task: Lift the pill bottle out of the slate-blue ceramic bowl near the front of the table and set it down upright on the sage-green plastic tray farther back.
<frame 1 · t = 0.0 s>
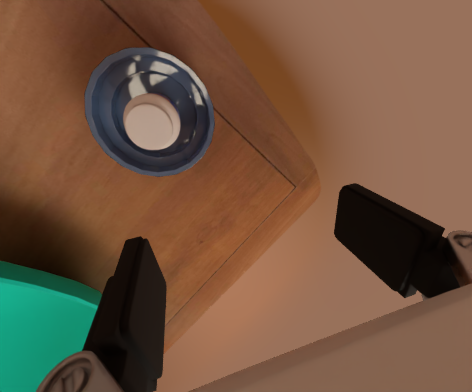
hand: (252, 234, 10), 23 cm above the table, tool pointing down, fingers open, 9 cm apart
table top decor: (36, 295, 34), on the table
pill bottle: (158, 115, 27), resting on bowl
bowl: (158, 115, 27), on the table
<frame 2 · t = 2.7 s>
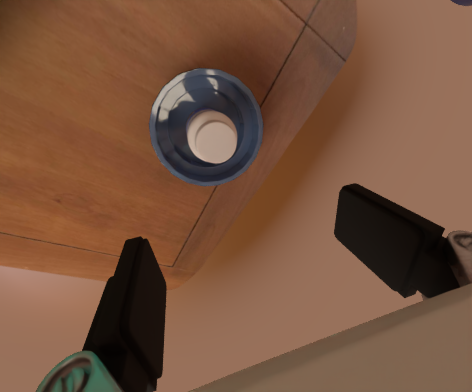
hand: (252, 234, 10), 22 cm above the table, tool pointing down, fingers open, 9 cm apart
pill bottle: (205, 128, 28), resting on bowl
bowl: (205, 127, 28), on the table
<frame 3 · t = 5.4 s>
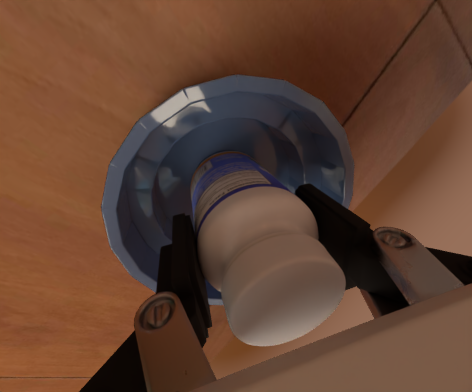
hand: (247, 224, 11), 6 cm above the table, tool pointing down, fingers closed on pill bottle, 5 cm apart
pill bottle: (226, 184, 15), resting on bowl, touching gripper
bowl: (225, 183, 15), on the table
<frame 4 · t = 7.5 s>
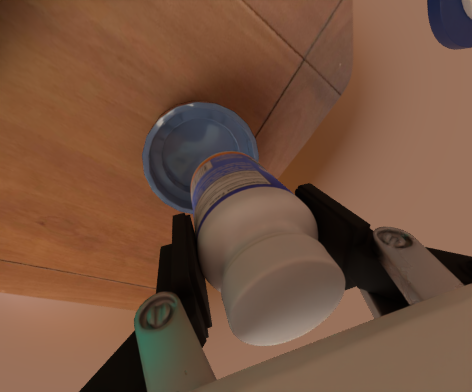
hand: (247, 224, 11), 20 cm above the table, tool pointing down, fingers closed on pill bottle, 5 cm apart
pill bottle: (226, 184, 15), point 15 cm above the table, touching gripper
bowl: (199, 154, 28), on the table
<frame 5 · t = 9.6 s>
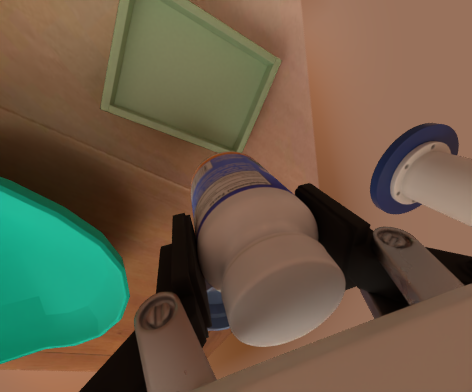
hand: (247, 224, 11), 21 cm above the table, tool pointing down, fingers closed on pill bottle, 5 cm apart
tray: (193, 84, 26), on the table
pill bottle: (226, 185, 15), point 16 cm above the table, touching gripper
bowl: (220, 286, 43), on the table
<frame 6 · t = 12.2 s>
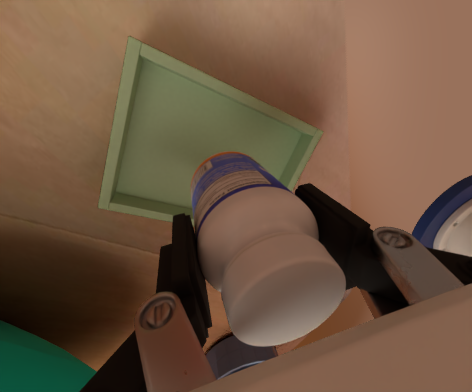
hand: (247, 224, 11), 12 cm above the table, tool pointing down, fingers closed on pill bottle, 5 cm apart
tray: (212, 158, 21), on the table
pill bottle: (226, 184, 15), point 7 cm above the table, touching gripper
bowl: (238, 351, 38), on the table
when the fingers open (6 cm above the table, at t = 14.1 s): pill bottle stays where it is, resting on tray.
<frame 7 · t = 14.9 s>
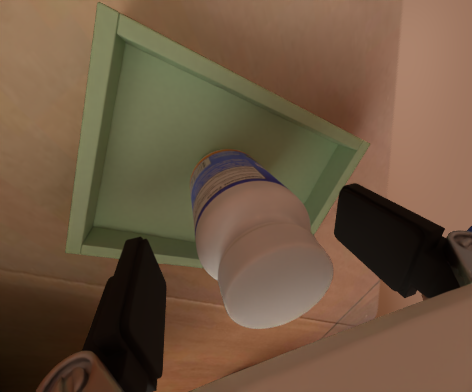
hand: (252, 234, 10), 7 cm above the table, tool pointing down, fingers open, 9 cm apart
tray: (222, 178, 16), on the table
pill bottle: (224, 181, 16), point 1 cm above the table, touching tray
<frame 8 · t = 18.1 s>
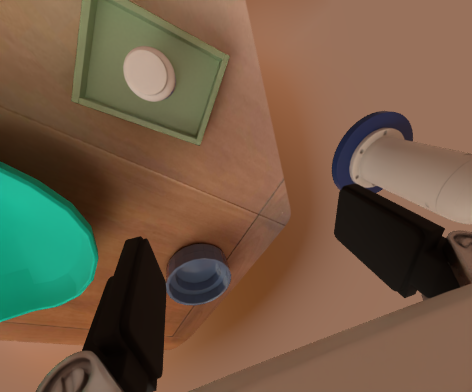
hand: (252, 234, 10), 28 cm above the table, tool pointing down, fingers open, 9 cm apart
tray: (155, 78, 30), on the table
pill bottle: (155, 78, 29), point 1 cm above the table, touching tray
bowl: (197, 265, 47), on the table
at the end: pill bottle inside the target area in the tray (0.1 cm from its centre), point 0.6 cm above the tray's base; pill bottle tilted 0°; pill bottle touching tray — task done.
